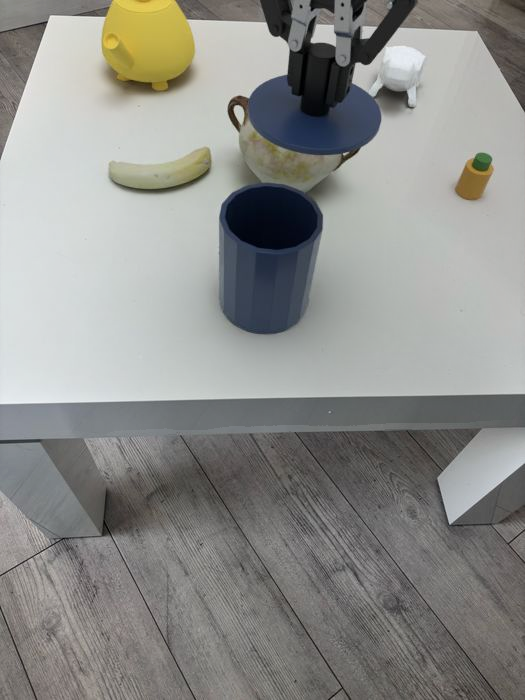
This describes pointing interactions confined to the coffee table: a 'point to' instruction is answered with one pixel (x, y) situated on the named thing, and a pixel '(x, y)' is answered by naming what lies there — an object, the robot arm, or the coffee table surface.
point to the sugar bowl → (281, 156)
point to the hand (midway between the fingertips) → (317, 96)
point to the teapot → (147, 41)
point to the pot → (267, 256)
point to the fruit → (161, 171)
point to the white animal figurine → (400, 71)
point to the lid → (314, 111)
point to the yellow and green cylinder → (475, 176)
